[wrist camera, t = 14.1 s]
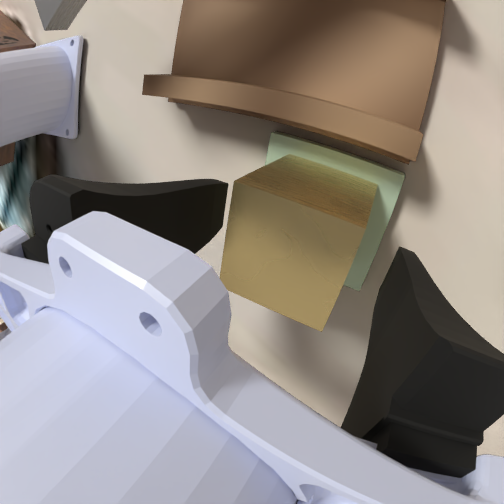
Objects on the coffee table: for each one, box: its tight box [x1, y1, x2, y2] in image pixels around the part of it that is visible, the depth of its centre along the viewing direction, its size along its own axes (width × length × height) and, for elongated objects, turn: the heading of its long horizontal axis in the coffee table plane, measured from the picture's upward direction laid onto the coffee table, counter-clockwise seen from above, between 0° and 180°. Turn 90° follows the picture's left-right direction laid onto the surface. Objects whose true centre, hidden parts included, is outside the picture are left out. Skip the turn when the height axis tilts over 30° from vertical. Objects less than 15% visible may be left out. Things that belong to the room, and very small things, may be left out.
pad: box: [265, 131, 405, 291], centre depth 14 cm, size 6×6×1 cm
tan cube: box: [220, 154, 378, 332], centre depth 12 cm, size 4×4×5 cm
